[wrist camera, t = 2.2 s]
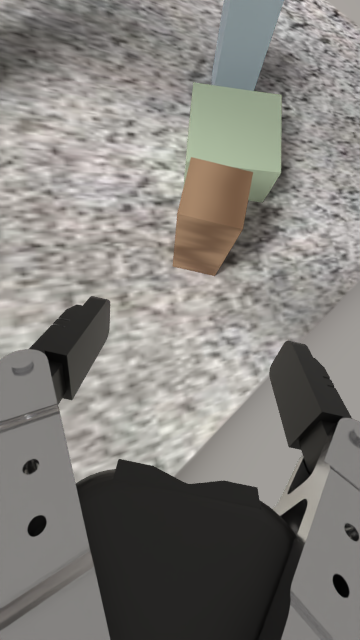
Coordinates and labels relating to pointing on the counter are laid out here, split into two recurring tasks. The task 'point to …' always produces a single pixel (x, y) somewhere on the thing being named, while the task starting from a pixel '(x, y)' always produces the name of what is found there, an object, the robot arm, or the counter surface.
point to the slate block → (243, 41)
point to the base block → (237, 133)
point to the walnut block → (210, 215)
